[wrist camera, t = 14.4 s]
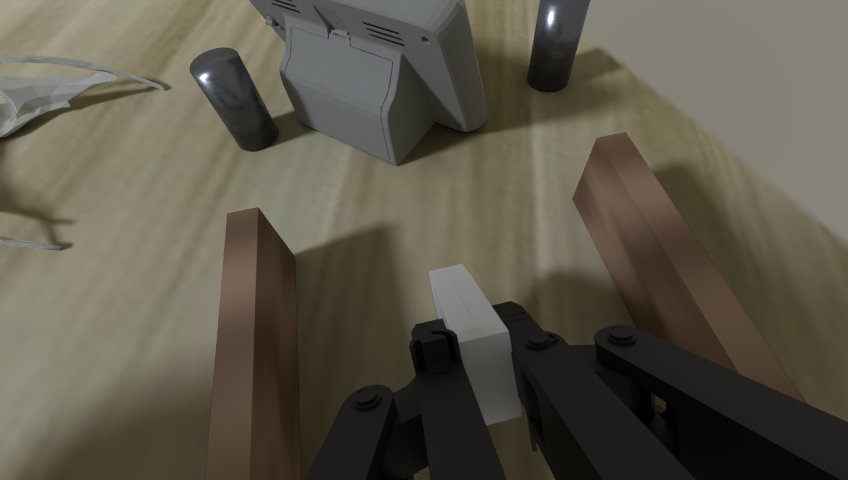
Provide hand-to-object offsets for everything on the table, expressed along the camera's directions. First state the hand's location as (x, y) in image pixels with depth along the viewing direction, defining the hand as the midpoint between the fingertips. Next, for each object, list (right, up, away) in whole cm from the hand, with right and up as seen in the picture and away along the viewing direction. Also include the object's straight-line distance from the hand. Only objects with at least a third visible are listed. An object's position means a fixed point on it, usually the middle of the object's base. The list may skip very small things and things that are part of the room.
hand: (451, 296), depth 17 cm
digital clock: (-4, +12, +13) cm, 18 cm away
